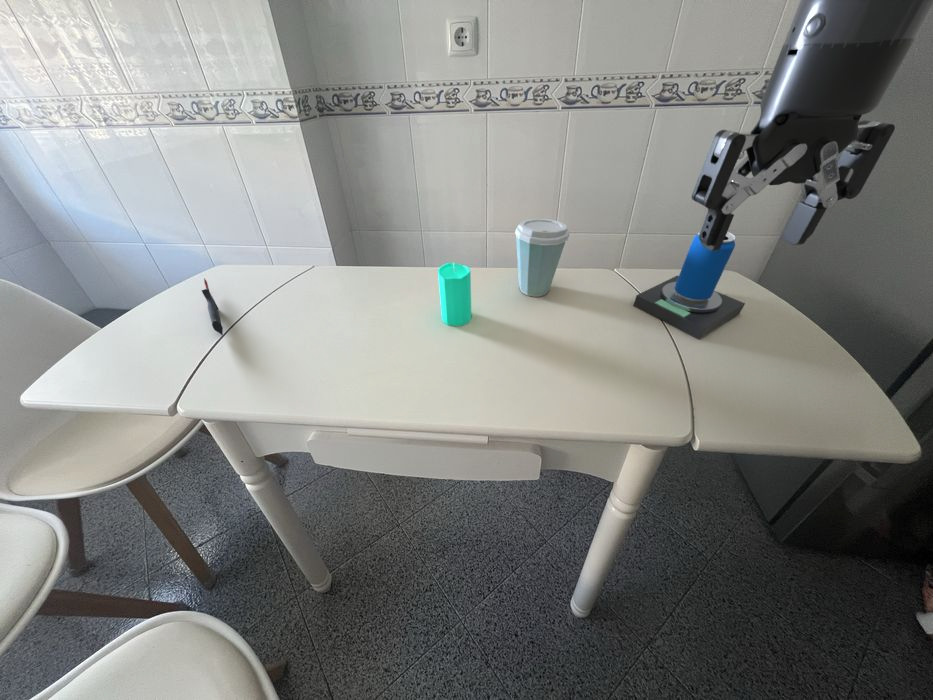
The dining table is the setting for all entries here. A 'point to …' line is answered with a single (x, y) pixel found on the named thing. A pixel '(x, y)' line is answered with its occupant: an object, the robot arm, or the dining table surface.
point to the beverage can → (703, 269)
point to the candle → (455, 293)
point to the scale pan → (693, 306)
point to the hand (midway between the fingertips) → (750, 245)
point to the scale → (683, 319)
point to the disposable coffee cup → (539, 253)
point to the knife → (213, 310)
